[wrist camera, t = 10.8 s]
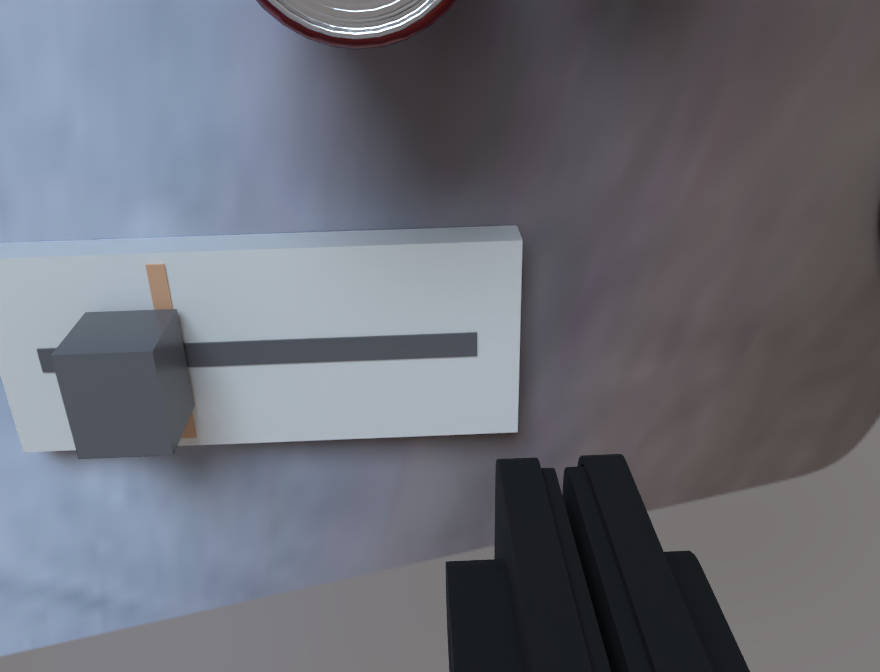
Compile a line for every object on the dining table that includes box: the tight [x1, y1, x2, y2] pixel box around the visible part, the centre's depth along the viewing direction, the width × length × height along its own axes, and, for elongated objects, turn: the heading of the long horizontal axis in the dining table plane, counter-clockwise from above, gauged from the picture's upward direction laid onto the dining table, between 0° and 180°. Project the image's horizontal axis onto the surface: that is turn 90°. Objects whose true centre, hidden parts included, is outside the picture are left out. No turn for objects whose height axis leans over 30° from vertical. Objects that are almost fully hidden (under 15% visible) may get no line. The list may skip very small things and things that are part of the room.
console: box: [0, 225, 523, 452], centre depth 39 cm, size 24×10×2 cm, turn 91°
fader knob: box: [51, 309, 195, 459], centre depth 36 cm, size 4×5×4 cm
